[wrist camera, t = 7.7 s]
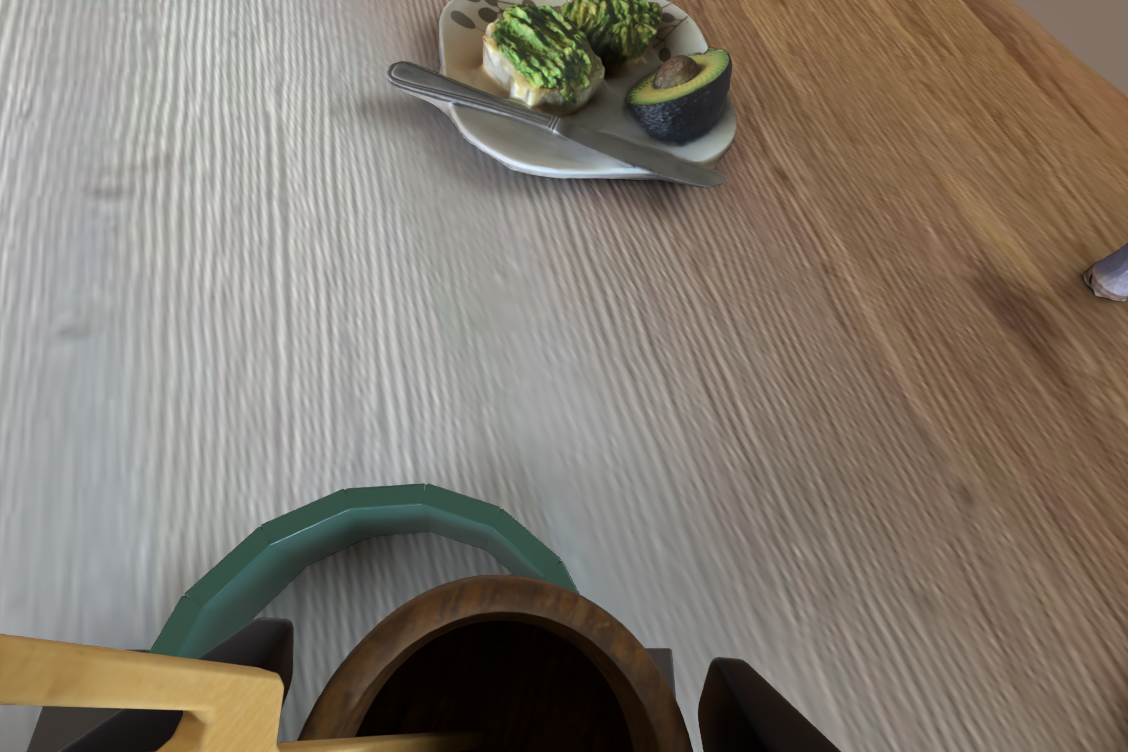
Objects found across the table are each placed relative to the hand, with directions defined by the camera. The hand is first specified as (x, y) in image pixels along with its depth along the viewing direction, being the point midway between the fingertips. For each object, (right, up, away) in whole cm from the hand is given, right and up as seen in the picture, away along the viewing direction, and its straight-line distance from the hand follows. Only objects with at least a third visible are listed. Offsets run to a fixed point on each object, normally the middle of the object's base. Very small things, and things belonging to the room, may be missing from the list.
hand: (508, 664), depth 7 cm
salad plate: (+2, +20, +26) cm, 33 cm away
